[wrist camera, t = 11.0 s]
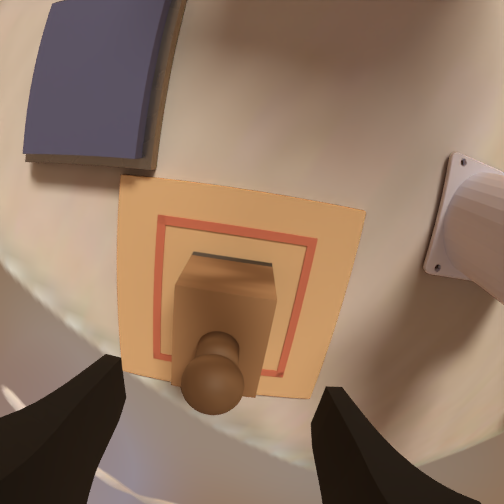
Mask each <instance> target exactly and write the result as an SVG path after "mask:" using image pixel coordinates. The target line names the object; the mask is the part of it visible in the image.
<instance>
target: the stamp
mask: <svg viewBox="0 0 504 504" xmlns="http://www.w3.org/2000/svg"><path fill="white" fill-rule="evenodd" d="M276 304H277V294H276V287H275V280H274V273H273V266H272V263H267V262H261V261H254V260H247V259H241V258H234V257H227V256H221V255H214V254H208V253H201V252H194V251H193V253H192V255H191V257H190V258H189V260H188V262H187V264H186V266H185V267H184V269H183V271H182V273H181V275H180V276H179V278H178V280H177V282H176V284H175V290H174V308H173V330H172V367H171V385H174V386H179V387H181V390H182V394H183V396H184V398H185V400H186V401H187V403H188V404H189V405H190V406H191V407H192V408H194V409H195V410H197V411H199V412H201V413H204V414H208V415H219V414H223V413H226V412H228V411H230V410H231V409H233V408H234V407H235V406H236V405H237V404H238V403H239V401H240V400H241V398H242V396H245V397H254V398H255V397H256V392H257V388H258V384H259V380H260V376H261V371H262V367H263V363H264V358H265V354H266V350H267V345H268V341H269V336H270V332H271V327H272V323H273V318H274V314H275V309H276Z"/></svg>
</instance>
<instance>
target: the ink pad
mask: <svg viewBox="0 0 504 504" xmlns="http://www.w3.org/2000/svg"><path fill="white" fill-rule="evenodd" d="M186 3H187V0H64V1H59V2H56V3H53V4H52V6H51V9H50V12H49V15H48V19H47V22H46V25H45V29H44V32H43V36H42V39H41V43H40V47H39V51H38V55H37V59H36V64H35V69H34V73H33V78H32V84H31V89H30V95H29V102H28V109H27V116H26V124H25V134H24V145H23V154H26V161H25V162H42V163H65V164H82V165H97V166H110V167H122V168H134V169H144V170H153V169H156V166H157V158H158V149H159V142H160V134H161V127H162V121H163V114H164V108H165V101H166V96H167V90H168V84H169V79H170V73H171V68H172V63H173V58H174V53H175V49H176V44H177V40H178V35H179V31H180V27H181V22H182V18H183V14H184V10H185V6H186Z"/></svg>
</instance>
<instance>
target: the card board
mask: <svg viewBox="0 0 504 504" xmlns="http://www.w3.org/2000/svg"><path fill="white" fill-rule="evenodd" d="M365 215H366V212H365V211H364V210H359V209H354V208H349V207H344V206H339V205H334V204H328V203H323V202H318V201H312V200H307V199H301V198H296V197H290V196H284V195H278V194H272V193H266V192H259V191H253V190H247V189H240V188H233V187H226V186H219V185H212V184H204V183H197V182H189V181H181V180H172V179H164V178H155V177H145V176H136V175H125V174H123V175H121V178H120V191H119V207H118V230H117V297H118V320H119V336H120V349H121V360H122V369H123V371H126V372H130V373H134V374H138V375H143V376H147V377H152V378H156V379H161V380H166V381H171V367H172V330H173V308H174V290H175V284H176V282H177V280H178V278H179V276H180V275H181V273H182V271H183V269H184V267H185V266H186V264H187V262H188V260H189V258H190V257H191V255H192V253H193V251H194V252H201V253H208V254H214V255H221V256H227V257H234V258H241V259H247V260H254V261H261V262H267V263H272V266H273V273H274V280H275V287H276V294H277V304H276V309H275V314H274V318H273V323H272V327H271V332H270V336H269V341H268V345H267V350H266V354H265V358H264V363H263V367H262V371H261V376H260V380H259V384H258V388H257V392H256V394H257V395H267V396H278V397H291V398H306V399H310V397H311V394H312V392H313V389H314V386H315V383H316V381H317V378H318V375H319V373H320V370H321V367H322V364H323V361H324V358H325V355H326V353H327V350H328V347H329V344H330V341H331V338H332V335H333V331H334V328H335V325H336V322H337V319H338V316H339V312H340V309H341V306H342V302H343V299H344V296H345V292H346V289H347V285H348V282H349V278H350V275H351V271H352V267H353V264H354V260H355V256H356V252H357V248H358V244H359V240H360V236H361V232H362V228H363V224H364V219H365Z"/></svg>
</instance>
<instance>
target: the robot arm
mask: <svg viewBox="0 0 504 504" xmlns="http://www.w3.org/2000/svg"><path fill="white" fill-rule="evenodd" d="M461 159H463V165H461ZM437 264H438V267H437V269H435V266H436V265H437ZM423 268H424V270H425V272H427V273H428V274H432V275H438V276H445V277H451V278H457V279H463V280H470V281H474V282H475V283H476V284H478V285H479V286H480V287H481V288H483V289H484V290H485V291H487V292H488V293H489V294H491V295H492V296H493V297H494V298H496V299H497V300H498V301H500V302H501V303H502V304H503V305H504V172H502V171H500V170H497V169H495V168H493V167H491V166H489V165H487V164H484V163H482V162H480V161H478V160H475V159H473V158H471V157H468V156H466V155H463V154H461V153H458V152H453V153H451V154H450V157H449V162H448V167H447V173H446V178H445V183H444V188H443V193H442V197H441V202H440V206H439V210H438V214H437V218H436V222H435V226H434V230H433V234H432V238H431V241H430V245H429V248H428V252H427V255H426V258H425V262H424V266H423ZM125 400H126V393H125V385H124V378H123V369H122V360H121V358H120V357H116V356H112V355H108V354H105V355H104V356H102V357H101V358H100V359H99V360H97V361H96V362H95V363H93V364H92V365H90V366H89V367H88V368H86V369H85V370H84V371H82V372H81V373H80V374H78V375H77V376H75V377H74V378H73V379H71V380H70V381H69V382H67V383H66V384H64V385H63V386H61V387H60V388H58V389H57V390H55V391H54V392H52V393H50V394H49V395H47V396H46V397H44V398H42V399H40V400H39V401H37V402H36V403H33V404H31V405H29V406H27V407H25V408H23V409H21V410H19V411H16V412H14V413H11V414H9V415H6V416H3V417H1V418H0V504H87V500H88V496H89V492H90V489H91V485H92V482H93V479H94V475H95V472H96V470H97V467H98V465H99V463H100V460H101V458H102V456H103V454H104V452H105V450H106V447H107V445H108V443H109V441H110V439H111V437H112V435H113V432H114V430H115V428H116V426H117V424H118V421H119V419H120V415H121V413H122V410H123V406H124V403H125ZM311 436H312V449H313V454H314V459H315V465H316V470H317V475H318V480H319V485H320V490H321V496H322V503H323V504H481V503H480V502H479V501H477V500H474V499H471V498H469V497H467V496H464V495H462V494H459V493H457V492H455V491H453V490H451V489H449V488H447V487H446V486H444V485H442V484H440V483H438V482H437V481H435V480H434V479H432V478H431V477H429V476H428V475H426V474H425V473H423V472H422V471H420V470H419V469H418V468H416V467H415V466H414V465H412V464H411V463H410V462H409V461H408V460H407V459H405V458H404V457H403V456H402V455H401V454H400V453H398V452H397V451H396V450H395V449H394V448H393V447H392V446H391V445H390V444H389V443H388V442H387V441H386V440H385V439H384V438H383V437H382V436H381V434H380V433H379V432H378V431H377V430H376V429H375V428H374V427H373V425H372V424H371V423H370V422H369V421H368V419H367V418H366V417H365V416H364V415H363V413H362V412H361V411H360V409H359V408H358V407H357V406H356V404H355V403H354V402H353V401H352V399H351V398H350V397H349V395H348V394H347V393H346V392H345V390H344V389H343V388H342V387H326V388H325V390H324V393H323V395H322V398H321V400H320V403H319V405H318V408H317V410H316V412H315V415H314V417H313V420H312V422H311Z"/></svg>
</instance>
